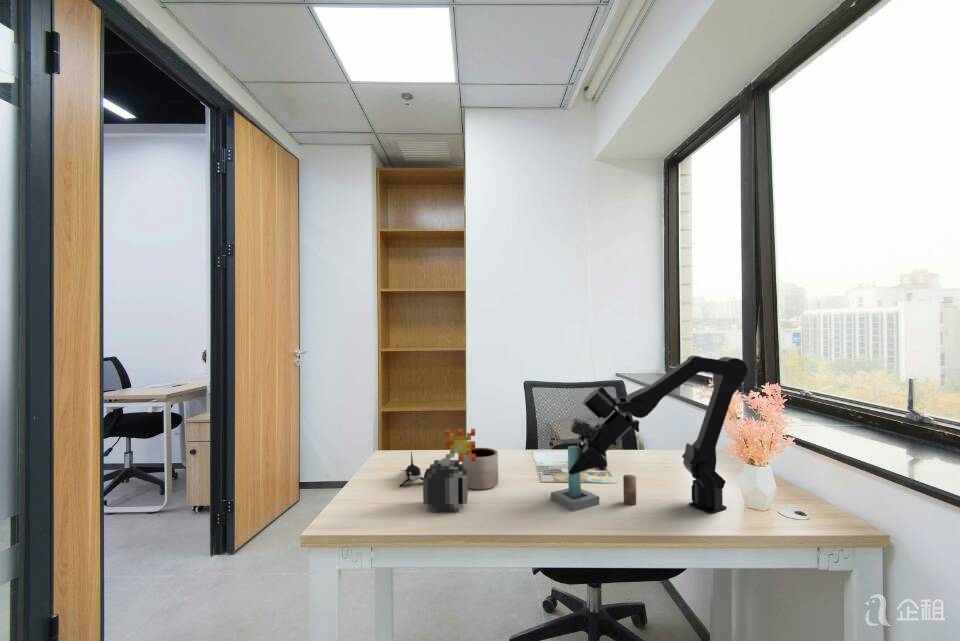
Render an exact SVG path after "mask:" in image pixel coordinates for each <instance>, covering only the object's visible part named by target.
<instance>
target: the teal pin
mask: <svg viewBox="0 0 960 641" xmlns="http://www.w3.org/2000/svg"><path fill="white" fill-rule="evenodd" d="M579 456H580V447H578V445H570V446H568V447H567V470H568V471H567V472H568V473H567V474H568V476H567V477H568V488H569V497H570V498H571V499H573V500H574V499H578V498H581V489H582V487H581V486H582V477H581V474H582V472H579V473H576V474H573V475H570V474H569V470H570V469H571V467H572V466H573V464H574V463H575V462H576V460H577V459H578V458H579Z"/></svg>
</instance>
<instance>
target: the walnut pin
mask: <svg viewBox="0 0 960 641" xmlns="http://www.w3.org/2000/svg"><path fill="white" fill-rule="evenodd" d="M622 477H623V478H622V479H623V480H622V481H623V482H622V483H623V489H622V490H623V491H622V492H623V504H624V505H626V506H631V507H633V506H636V505H637V477H636V476H635V475H633V474H624V475H623V476H622Z"/></svg>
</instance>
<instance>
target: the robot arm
mask: <svg viewBox="0 0 960 641" xmlns="http://www.w3.org/2000/svg"><path fill="white" fill-rule="evenodd" d="M702 372H703V373H709V374H712V382H713V390H712V393H711V396H710V398H709V403H708V405H707V408H706V411H705V414H704V418H703V419H702V420H703V421H702V424H701V427H700V430H699V432H698V435H697V438H696V439H695V441H694V442H693V443H692V444H691V443H688V442H687V443H686V444H685V450H684V453H683V454H682V455H681V458H683V461H682V462H683V465H684V468H685V469H686V471H688V472H689V473H690V474H691V477H692V478H693V480H692V485H691V501H690V502H689V503H688V505H689V506H690V507H694V508H696V509H699V510H700V511H703V512H706V513H709V514H714V513H716V512H720V511H723V510H726V509H727V505H723V501H724V500H723V489H724V486H725V485H726V480H725V479H724V478H723V477H722V476H721V475H720V474H718V472H717V471H716V469H717V468H716V467H717V444H718V441H719V438H720V435H721V433H722V429H723V426H724V422H725V420H726V416H727V414H728V411H729V408H730V405H731V402H732V398H733V395H734V394H735V393H736V392H737V391H738V390H739V389H740V387H741V386H742V385H743V384H744V381H745V380H746V377H747V376H748V373H749V367H748V366H747V364H746V362H744V360H742V359H740V358H737V357H736V358H735V357H731V356H722V357H720V358H719V359H716V358H710V357H702V356H699V355H690V356H689V357H688V358H686V360H685V361H683V362H681V363H680V364H679V365H677V366H675V367H674V368H672V370H670V371H668V372H667V373H666V374H664V375H663V376H662V377H659V379H658V380H656V381H654V382H653V383H651V384H650V385H647V386H644V387H642V388H639V389H637V390H635V391H633V392H630V393H629V394H627V395H626V396H625V397H617V398H614V397H612V396H611V395H610V394H609V393H608V391H607V390H606V389H605V388H604V386H601V385H600V386H599V387H598V388H596V389H594V390H593V391H592V392H590V393H589V394H588V395H587V396H586V397H585V398H584V400H583V401H582V404H583V405H584V406H585V407H586V408H587V409H588V410H589V411H590V412H591V413H593V415H594V416H595V417H597V419H600V418H602V419H605V420H604V421H603V422H602V423H601V424H600V423H597V424H595V426H593V425H591V424H590V423H589V422H586V421H584V420H581V419H578V418H576V417H575V418H574V420H573V421H572V424H571V426H570V432H572V434H575V435H577V439H578V441H577V446H578V447H580V456H579V458H578V459H577V460H576V462H575V463H574V464H573V466H572V467H571V469H570V470H569V474H570V475H573V474H576V473H579V472H581V473H582V472H586V471H589V470H592V469H598V470H599V471H601V472H602V471H603V470H605V467H606V466H607V467H608V460H606V458H607V457H606V458H605V457H604V456H605V455H606V456H607V451H608V450H610V448H611V447H613V446H614V447H616V446H617V445H618V441H619V439H621V437H622V436H624V435H625V434H626V433H627V432H628V431H629V430H630V429H631V428H632V429H633V430H634V431H635V432H636V433H639V432H640V421H639V420H638V418H639V419H643V418H646V417H647V416H648V415H649V414H651V412H652V411H654V409H655V408H657V406H658V404H659V403H660V401H662V399H663V398H664V397H666V396H667V395H669V394H670V393H672V392H674V390H676V389H678V388H679V387H680V386H682V385H683V384H685V383H686V382H688V381H689V380H691V379H692V378H693V377H694V376H696V375H698V374H699V373H702ZM616 407H617V408H618V409H619V410H621V412H622V413H621V412H620V411H619V410H618V409H617V408H616ZM628 413H629V414H630V415H631V416H632V417H634V418H637V419H633V418H632V417H631V416H630V415H629V414H628ZM579 440H580V441H581V442H580V441H579ZM605 452H606V453H605Z"/></svg>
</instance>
